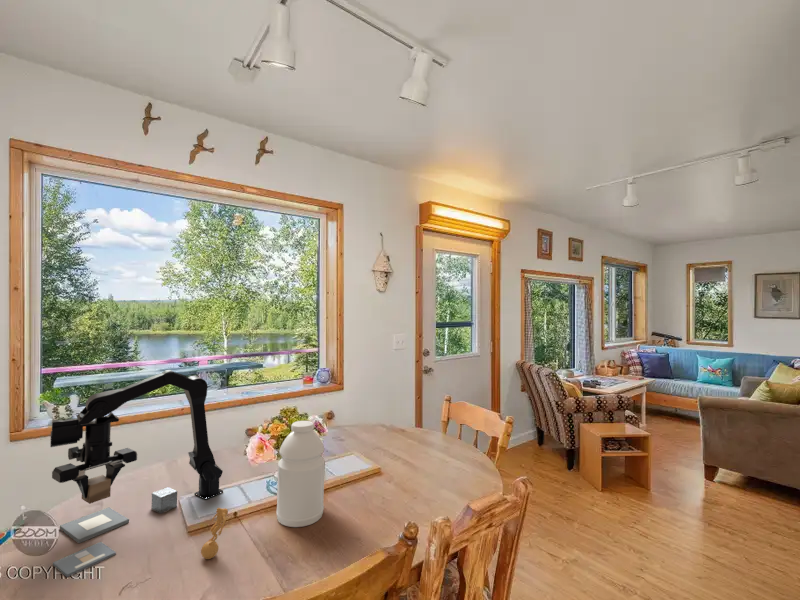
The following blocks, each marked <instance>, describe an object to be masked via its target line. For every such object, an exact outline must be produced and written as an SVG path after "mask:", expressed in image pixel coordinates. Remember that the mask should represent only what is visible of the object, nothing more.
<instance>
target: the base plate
mask: <svg viewBox="0 0 800 600" xmlns="http://www.w3.org/2000/svg"><path fill="white" fill-rule="evenodd" d="M128 523H130V519H129V518H128V517H127V516H125V515H123V514H121V513H120V512H118V511H116V510H115V509H113V508H112V507H106V508H103V509H101V510H98V511H95V512H93V513H90V514H87V515H85V516H82V517H79V518H76V519H74V520H71V521H68V522H65V523H63V524H61V525H59V530H60V529H61V530H60V531H62V530H63V531H64V532H65V534H66V535H67V536H68V535H69V536H68V537H69V538H71V539H72V538H73V539H72V540H73V541H75V542H76V543H78V544H81V543H83V542H85V541H87V540H91V539H92V538H95V537H99V536H100V535H102V534H105V533H107V532H109V531H111V530H114V529H117V528H119V527H121V526H124V525H127V524H128ZM63 531H62V532H63ZM64 532H63V533H64Z"/></svg>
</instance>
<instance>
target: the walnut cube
mask: <svg viewBox="0 0 800 600" xmlns="http://www.w3.org/2000/svg"><path fill="white" fill-rule="evenodd" d="M111 489H112V485H111V479H110V478H108V477H106V475H104V474H100V475H98V476H94V477H91V478H88V494H87V498H84V497H83V495H82V494H81V500H82V501H84V502H86V503H88V504H90V505H91V504H93V503H96V502H99V501H102V500H104V499H107V498H110V497H111V491H112V490H111Z"/></svg>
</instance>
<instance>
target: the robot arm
mask: <svg viewBox="0 0 800 600" xmlns="http://www.w3.org/2000/svg"><path fill="white" fill-rule="evenodd" d="M168 385H171V386H173V387H176V388H180V389H182V390H183V391H184V394H185V397H186V399H187V401H188V404H189V410H190V418H191V428H192V437H193V449H192V451H189V452H187V454H188V458H189V461H188V464H189V466H191V467H192V469H193V470H194V471H196V473H197V474H198V475H199V478H198V491H196V492H194V495H195V494H197V495H199V496H201V497H203V498H206V497H207V498H208V497H211V496H213V495H215V496H217V495H216V494H218V493H220V492H222V493H224V490H223V489H222V488H221V489H220V479H221V477H222V475H223V469H222V468H220V467H219V466H218V464H216V461H215V460H216V459H215V457H214V454H213V451H212V449H211V448H210V444H209V437H208V436H209V434H208V426H207V417H206V416H207V415H206V408H205V404H206V403H205V402H206V399H207V395H208V383H207V381H206V380H205V379H204V378H201V377H199V376H197V375H190V376H188V375H184V374H181V373H178V372H175V371H173V370H171V369H166V370H163V371H162V372H160V373H157V374H155V375H152V376H150V377H147V378H144V379H141V380H140V381H137V382H134V383H132V384H129V385H128V386H125V387H121V388H118V389H111V390H106V391H101V392H97V393H93V394H92V395H90V396H89V397H88V398H87V400H86V401H85V406H84V407H83V409H82V410H81V411H80V412H79V413H78V415H76V418H70V419H69V418H68V419H56V420H52V421H51V431H50V440H49V441H50V443H49V444H50V448H54V447H61V446H66V445H73V444H78V442H80V441H81V439H83V437H84V442H83V443H82V448H79V446H73V447H69V448H68V450H67V457H68V461H70V460H71V461H72V460H74V459H75V460H76V462H80V463H82V464H79V465H74V464H73V463H72V462H71V463H67V464H64V465H63V464H62V465H59V466H56V467H54V468H53V470H52V471H51V478H52V479H53V480H55V481H56V482H58V483H59V484H61V483H62V484H63V483H66V482H70V481H73V482H76V485H77V486H78V487H79V491H80V493H81V496H82V495H83V497H84V498H87V494H88V479H89V475H87V474H86V471H88V470H92V469H96V468H99V467H102V466H105V469H106V472H105V473H106V474H105V476H106V477H108V478H110V479H111V486H112V485H113V483H114V481H115V479H116V477H117V475H118V474H119V472H120V471H121V470H122V468H125V467H126V464H130V463H133V462H136V461H137V460H138V453H137V451H136V450H134V449H131V448H129V447H124V448H122V449H118V450H115V451H114V452H113V455H111V447H112V446H113V441H111V427H112V425H111V423H118V422H119V421H120V418H119V417H118V416H116V415H115V414H114V413H113V412H114V411H116V410H117V409H118V408H120V407H121V406H122V405H124V404H126V403H128V402H130V401H132V400H134V399H137V398H139V397H141V396H144V395H146V394H149V393H151V392H154V391H156V390H158V389H159V390H160V389H161V388H163V387H166V386H168ZM84 427H85V433H84V429H83V428H84ZM83 434H85V436H83ZM220 494H221V493H220ZM218 495H219V494H218ZM199 496H198V497H199ZM201 497H200V498H201ZM213 497H214V496H213ZM203 498H202V499H203ZM211 498H212V497H211Z"/></svg>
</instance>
